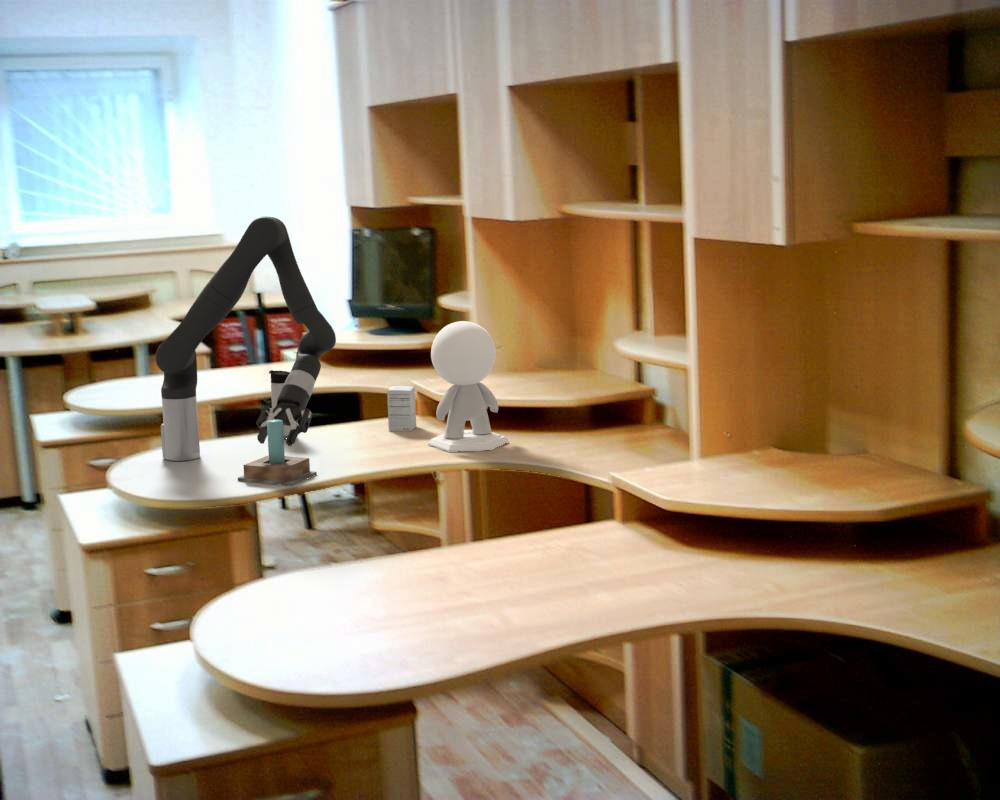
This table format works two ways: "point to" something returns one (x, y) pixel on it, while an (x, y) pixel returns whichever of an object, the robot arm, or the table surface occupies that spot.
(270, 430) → the peg
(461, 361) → the white toy figurine
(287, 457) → the socket
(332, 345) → the robot arm
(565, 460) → the table surface
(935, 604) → the table surface
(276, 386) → the travel mug
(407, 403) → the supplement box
